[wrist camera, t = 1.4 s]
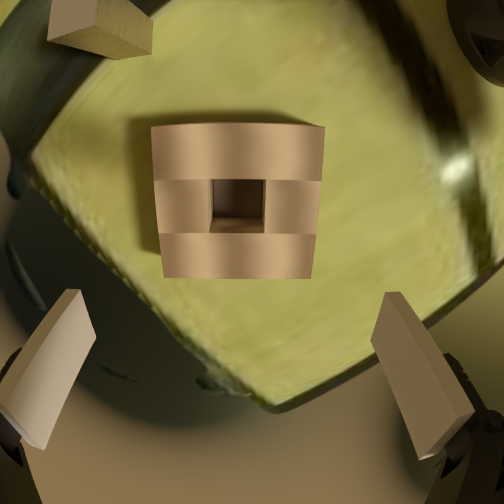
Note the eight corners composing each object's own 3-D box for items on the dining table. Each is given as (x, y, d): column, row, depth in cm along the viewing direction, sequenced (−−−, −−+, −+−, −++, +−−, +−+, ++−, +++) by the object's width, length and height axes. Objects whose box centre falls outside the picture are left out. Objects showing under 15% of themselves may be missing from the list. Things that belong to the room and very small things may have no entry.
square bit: (153, 21, 21) (100, -22, 10) (151, 54, 22) (94, 25, 12) (118, 28, 21) (53, -5, 10) (117, 59, 22) (47, 40, 11)
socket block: (314, 124, 26) (324, 127, 22) (303, 259, 32) (310, 278, 29) (163, 124, 26) (150, 126, 22) (172, 258, 32) (164, 277, 28)
